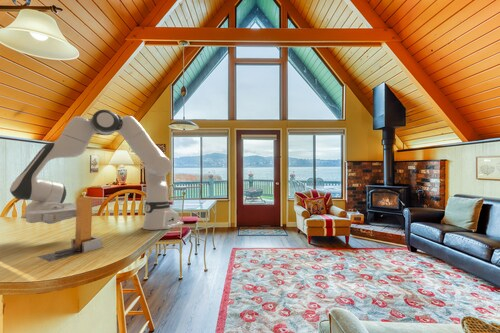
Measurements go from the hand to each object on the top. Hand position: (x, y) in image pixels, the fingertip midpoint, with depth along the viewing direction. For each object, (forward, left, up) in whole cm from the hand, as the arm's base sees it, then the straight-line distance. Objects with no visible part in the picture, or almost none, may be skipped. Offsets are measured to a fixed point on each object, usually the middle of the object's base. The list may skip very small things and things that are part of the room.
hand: (68, 215), depth 95 cm
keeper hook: (-1, +11, -11) cm, 16 cm away
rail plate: (+3, +11, -12) cm, 17 cm away
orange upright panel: (+3, +11, -11) cm, 16 cm away
